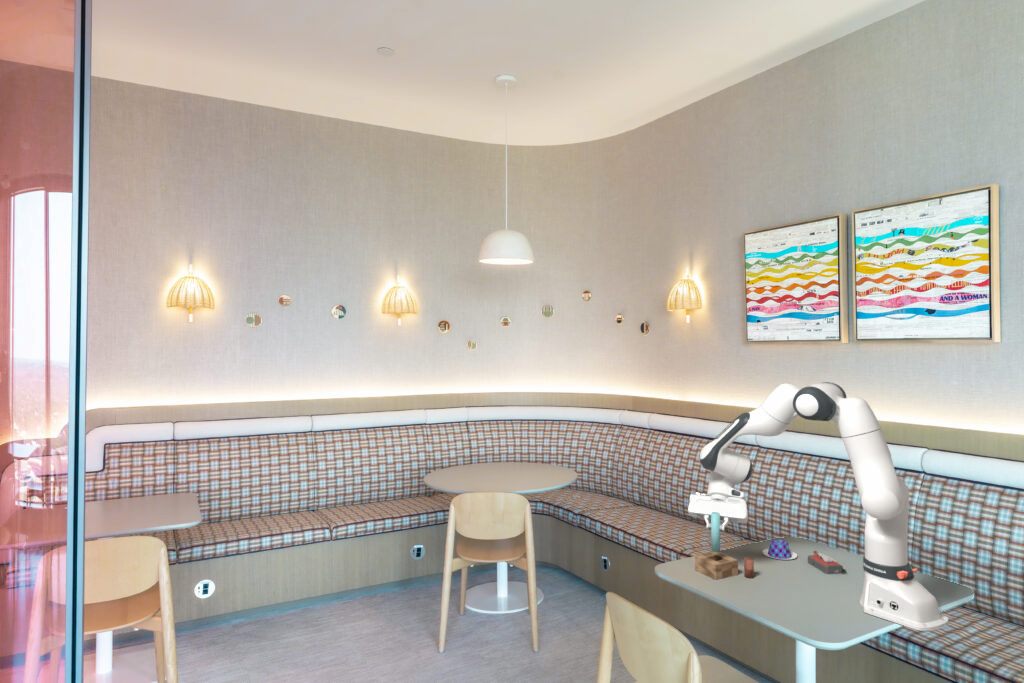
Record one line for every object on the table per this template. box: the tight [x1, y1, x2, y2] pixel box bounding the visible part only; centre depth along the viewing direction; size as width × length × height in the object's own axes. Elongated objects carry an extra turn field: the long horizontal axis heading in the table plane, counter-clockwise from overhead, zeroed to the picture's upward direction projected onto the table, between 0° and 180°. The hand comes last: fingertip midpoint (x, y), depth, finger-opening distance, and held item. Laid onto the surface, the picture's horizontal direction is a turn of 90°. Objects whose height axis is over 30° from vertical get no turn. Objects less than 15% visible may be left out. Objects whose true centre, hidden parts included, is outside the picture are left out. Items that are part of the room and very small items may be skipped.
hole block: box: [694, 551, 739, 581], centre depth 213 cm, size 10×10×5 cm
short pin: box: [743, 557, 755, 579], centre depth 208 cm, size 3×3×6 cm
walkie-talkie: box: [807, 550, 847, 575], centre depth 219 cm, size 9×4×20 cm
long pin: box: [710, 512, 721, 553], centre depth 213 cm, size 3×3×13 cm
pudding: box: [761, 539, 798, 561], centre depth 228 cm, size 12×12×5 cm
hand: (715, 529), depth 212 cm, fingers closed on long pin, 3 cm apart
